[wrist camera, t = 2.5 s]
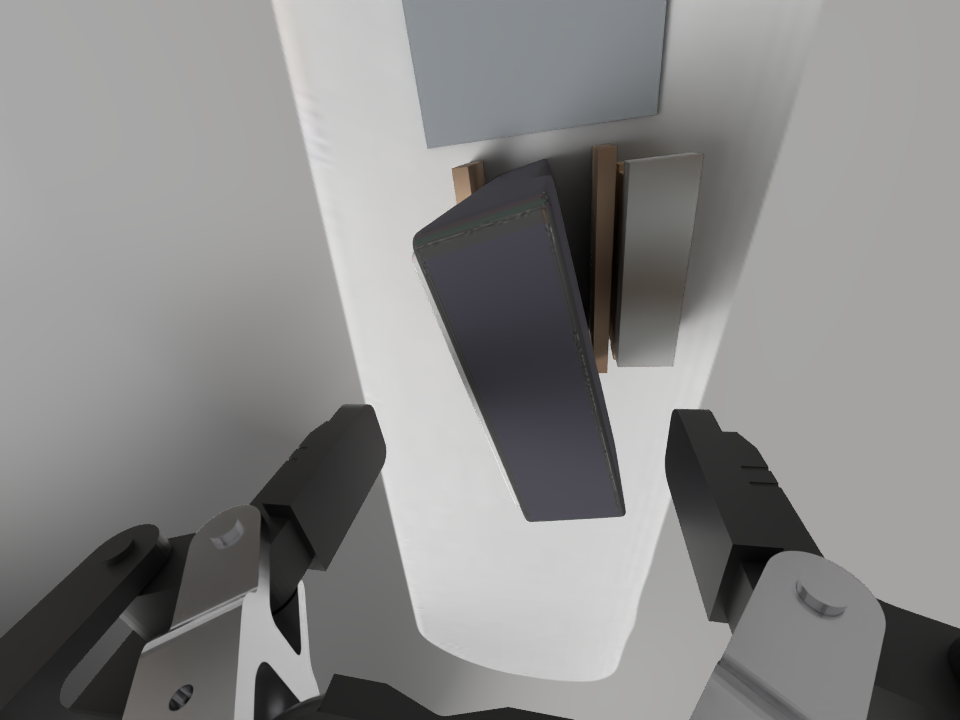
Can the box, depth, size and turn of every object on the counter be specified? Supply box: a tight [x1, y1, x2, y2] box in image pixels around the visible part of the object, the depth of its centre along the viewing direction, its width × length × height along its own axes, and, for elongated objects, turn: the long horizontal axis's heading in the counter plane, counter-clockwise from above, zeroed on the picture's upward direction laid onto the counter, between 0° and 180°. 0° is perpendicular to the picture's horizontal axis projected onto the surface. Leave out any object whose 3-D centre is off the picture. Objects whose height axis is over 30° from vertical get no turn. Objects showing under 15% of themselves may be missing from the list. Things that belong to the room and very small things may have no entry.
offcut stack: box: [609, 152, 704, 367], centre depth 20 cm, size 11×3×5 cm, turn 7°
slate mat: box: [402, 0, 667, 149], centre depth 18 cm, size 9×12×1 cm
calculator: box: [412, 159, 626, 522], centre depth 18 cm, size 11×4×15 cm, turn 19°
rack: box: [452, 144, 617, 373], centre depth 22 cm, size 12×8×4 cm, turn 7°
